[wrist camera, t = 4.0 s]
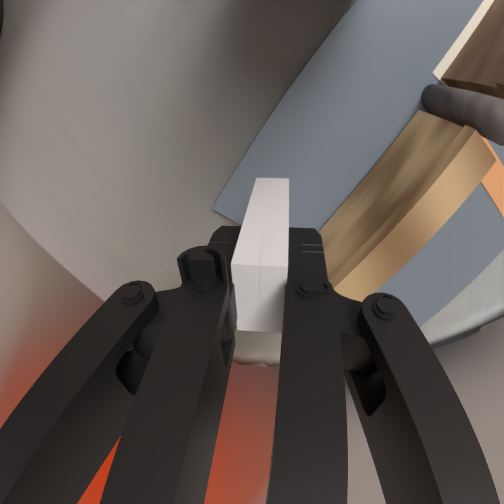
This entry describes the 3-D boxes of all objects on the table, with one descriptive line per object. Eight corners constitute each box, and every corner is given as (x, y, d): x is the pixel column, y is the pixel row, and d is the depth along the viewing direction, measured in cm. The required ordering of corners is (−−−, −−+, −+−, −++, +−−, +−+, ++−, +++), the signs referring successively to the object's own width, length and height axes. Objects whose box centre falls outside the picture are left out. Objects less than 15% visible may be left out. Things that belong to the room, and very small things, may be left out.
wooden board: (415, 106, 12) (475, 129, 7) (435, 127, 12) (496, 160, 7) (307, 238, 18) (311, 307, 13) (328, 251, 18) (339, 321, 13)
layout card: (213, 205, 18) (211, 209, 18) (427, -76, 4) (431, -78, 3) (414, 325, 23) (416, 330, 22) (577, 129, 8) (581, 131, 8)
